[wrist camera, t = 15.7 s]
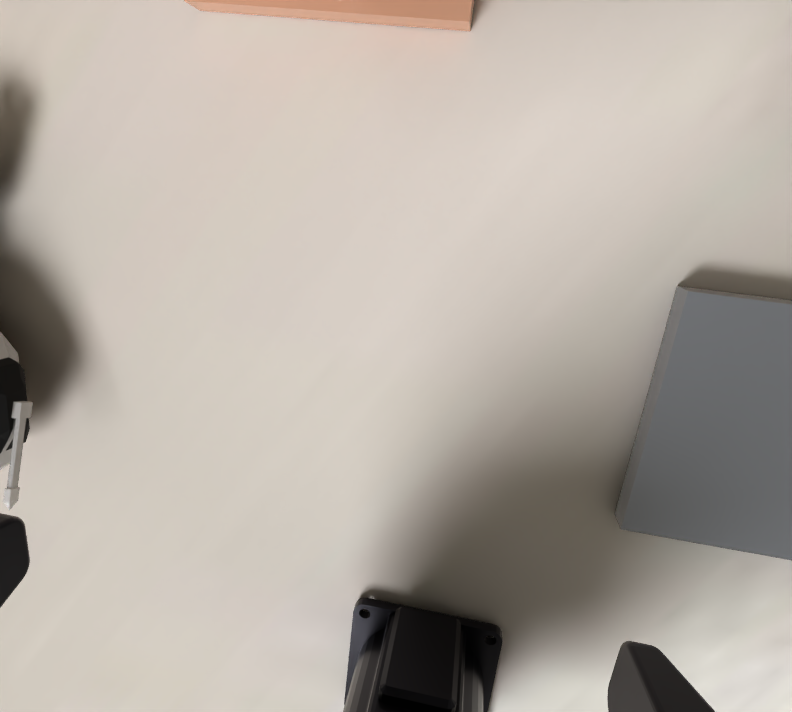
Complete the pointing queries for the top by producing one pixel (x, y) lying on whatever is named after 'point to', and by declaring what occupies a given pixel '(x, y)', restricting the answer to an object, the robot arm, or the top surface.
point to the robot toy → (12, 417)
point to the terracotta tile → (355, 11)
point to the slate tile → (717, 427)
